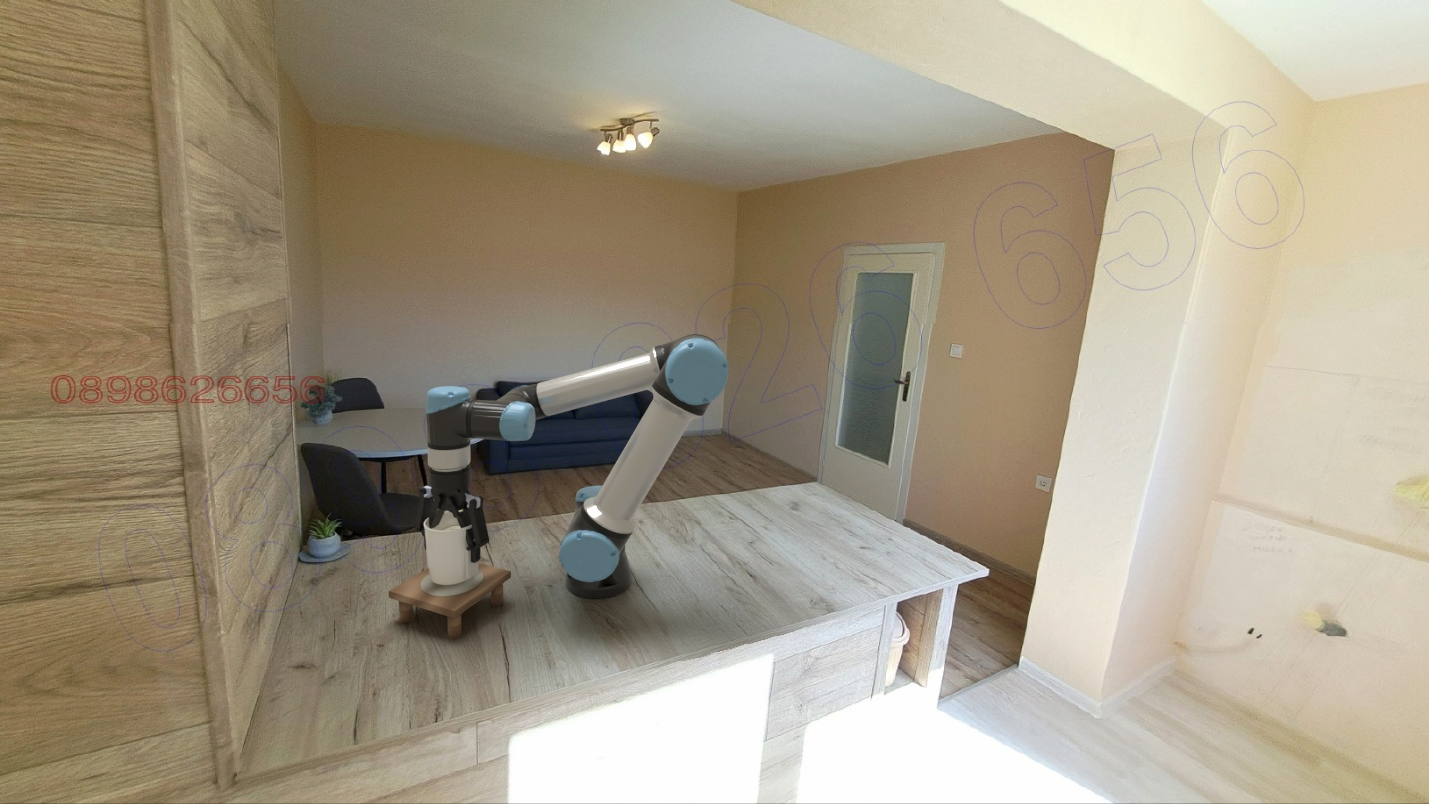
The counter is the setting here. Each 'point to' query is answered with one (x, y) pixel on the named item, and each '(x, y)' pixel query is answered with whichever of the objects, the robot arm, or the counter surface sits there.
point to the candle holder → (446, 550)
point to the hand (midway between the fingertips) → (452, 569)
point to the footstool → (449, 595)
